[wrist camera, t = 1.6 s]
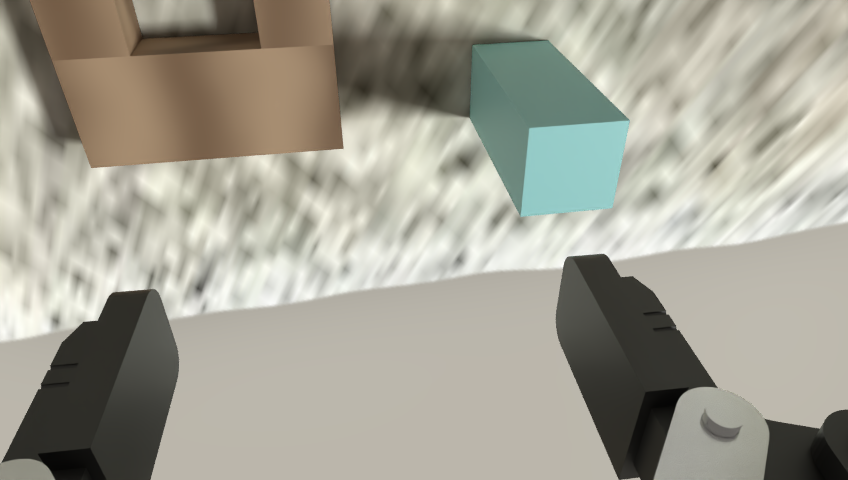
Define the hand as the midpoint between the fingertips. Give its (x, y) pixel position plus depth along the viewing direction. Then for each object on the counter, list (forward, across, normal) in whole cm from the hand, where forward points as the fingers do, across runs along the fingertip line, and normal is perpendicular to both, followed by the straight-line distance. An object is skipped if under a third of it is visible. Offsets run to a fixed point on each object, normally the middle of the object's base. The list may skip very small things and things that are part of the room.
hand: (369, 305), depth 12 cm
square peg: (+21, -8, +4) cm, 23 cm away
